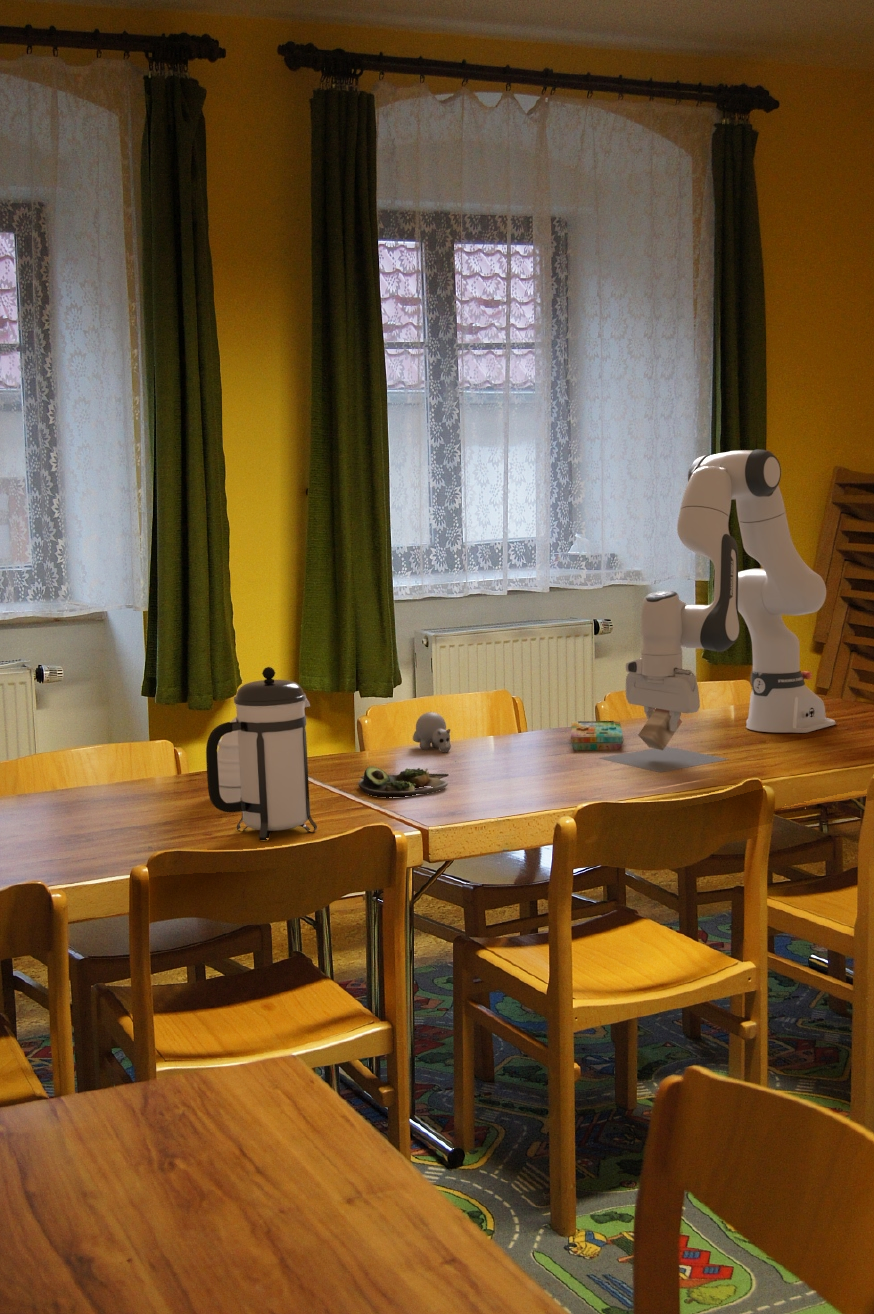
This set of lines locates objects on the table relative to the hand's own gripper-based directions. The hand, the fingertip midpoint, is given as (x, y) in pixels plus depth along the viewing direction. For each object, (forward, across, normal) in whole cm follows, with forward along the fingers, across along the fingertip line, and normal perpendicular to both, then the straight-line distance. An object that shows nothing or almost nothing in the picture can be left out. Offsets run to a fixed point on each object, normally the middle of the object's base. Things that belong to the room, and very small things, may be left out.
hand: (662, 728), depth 283 cm
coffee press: (+8, -1, +95) cm, 95 cm away
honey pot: (+8, +29, +87) cm, 92 cm away
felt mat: (+7, 0, 0) cm, 7 cm away
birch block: (+3, 0, +4) cm, 4 cm away
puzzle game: (+8, +25, -2) cm, 26 cm away
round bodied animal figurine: (+7, +45, +31) cm, 55 cm away
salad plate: (+8, +14, +59) cm, 61 cm away
